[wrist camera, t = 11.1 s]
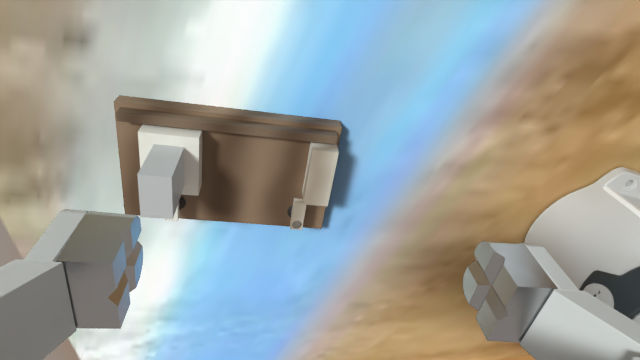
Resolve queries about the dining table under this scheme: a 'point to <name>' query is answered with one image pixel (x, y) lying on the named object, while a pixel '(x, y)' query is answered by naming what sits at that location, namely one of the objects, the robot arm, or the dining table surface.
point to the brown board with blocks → (240, 161)
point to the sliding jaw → (168, 169)
